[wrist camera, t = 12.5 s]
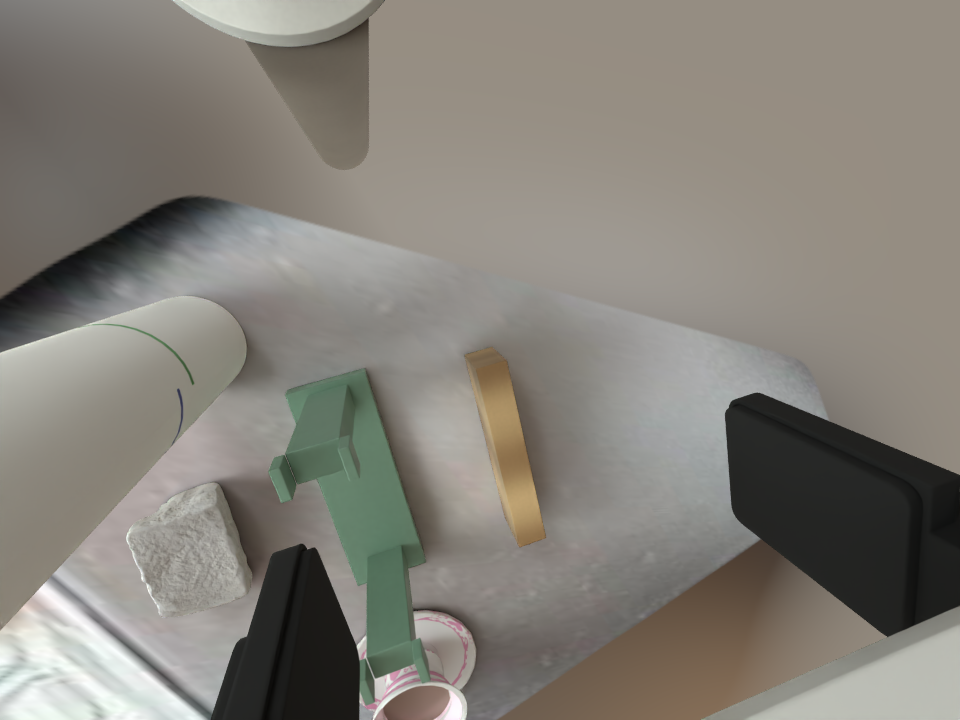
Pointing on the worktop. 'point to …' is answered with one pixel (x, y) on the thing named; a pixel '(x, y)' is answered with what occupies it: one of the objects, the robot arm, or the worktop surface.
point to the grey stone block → (191, 553)
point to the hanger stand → (360, 511)
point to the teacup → (451, 656)
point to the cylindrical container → (98, 424)
